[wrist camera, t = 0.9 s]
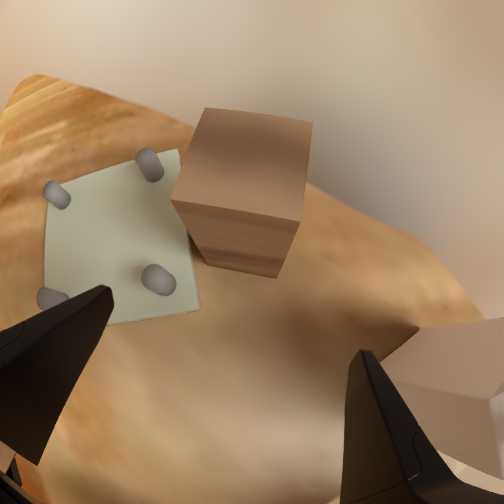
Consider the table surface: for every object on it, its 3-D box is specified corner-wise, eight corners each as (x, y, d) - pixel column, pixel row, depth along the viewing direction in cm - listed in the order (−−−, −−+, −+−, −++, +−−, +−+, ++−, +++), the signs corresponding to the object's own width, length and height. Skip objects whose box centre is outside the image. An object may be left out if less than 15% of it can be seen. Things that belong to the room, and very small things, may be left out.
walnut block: (276, 278, 24) (300, 221, 12) (208, 265, 25) (169, 199, 13) (287, 215, 26) (312, 122, 14) (223, 203, 26) (205, 107, 14)
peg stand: (201, 310, 23) (191, 304, 19) (54, 331, 22) (28, 329, 18) (179, 155, 28) (170, 129, 24) (55, 193, 27) (36, 176, 23)
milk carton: (421, 326, 23) (597, 293, 4) (445, 382, 21) (602, 393, 3) (365, 371, 22) (554, 409, 3) (394, 427, 20) (546, 497, 2)
